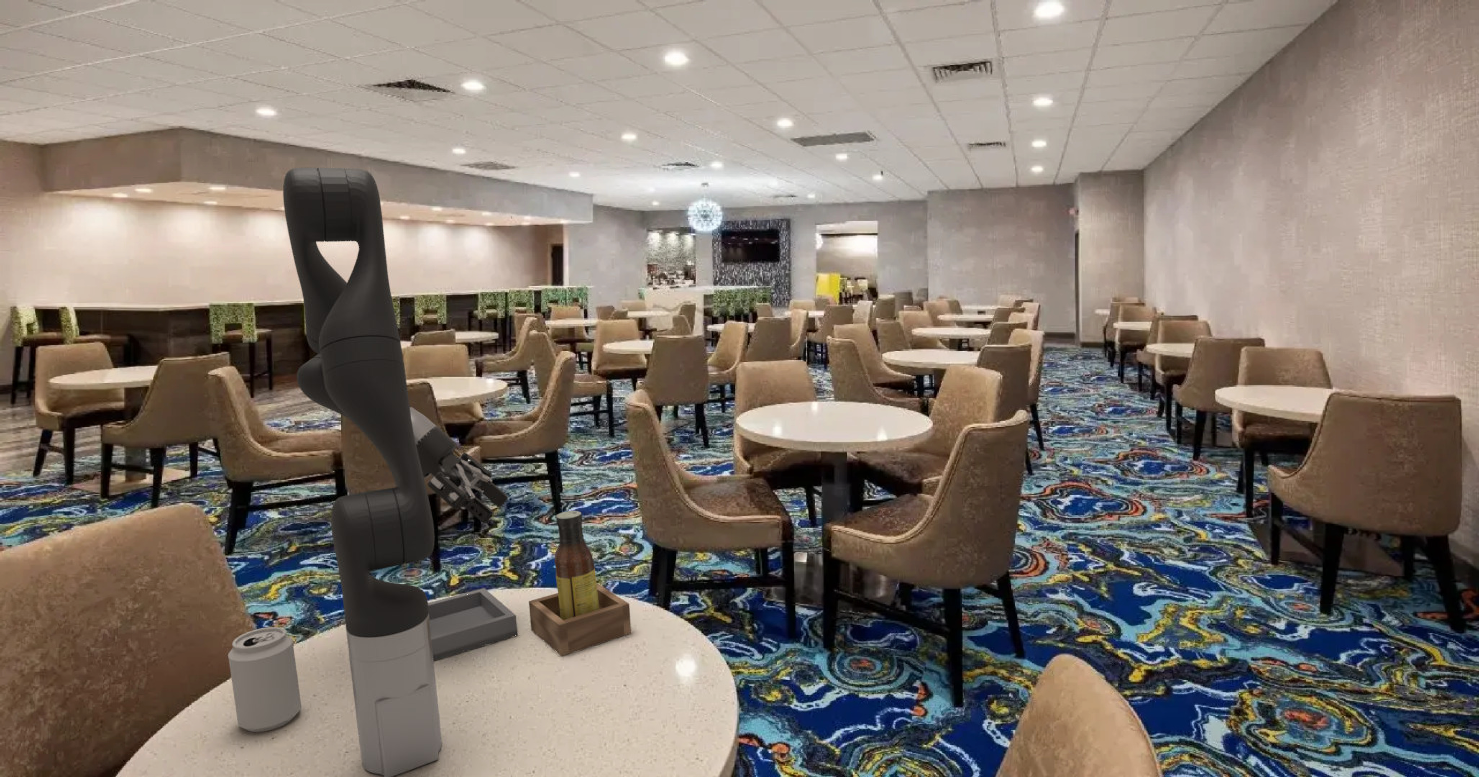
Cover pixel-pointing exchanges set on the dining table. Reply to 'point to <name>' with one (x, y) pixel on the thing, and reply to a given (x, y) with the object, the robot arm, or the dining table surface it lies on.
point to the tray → (468, 623)
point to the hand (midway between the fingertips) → (497, 510)
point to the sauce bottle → (574, 568)
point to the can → (264, 679)
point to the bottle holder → (580, 622)
